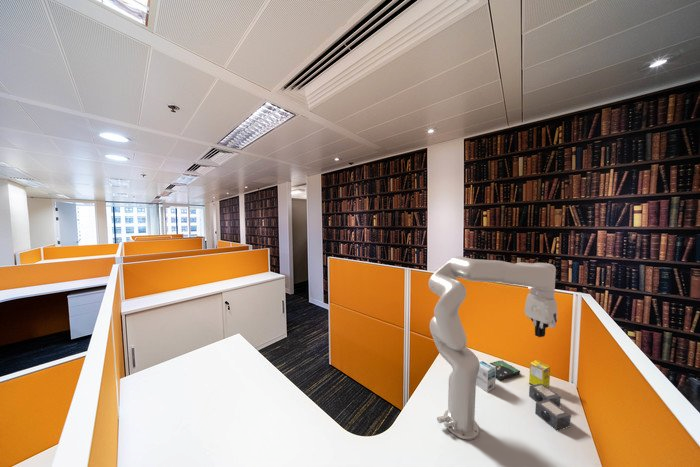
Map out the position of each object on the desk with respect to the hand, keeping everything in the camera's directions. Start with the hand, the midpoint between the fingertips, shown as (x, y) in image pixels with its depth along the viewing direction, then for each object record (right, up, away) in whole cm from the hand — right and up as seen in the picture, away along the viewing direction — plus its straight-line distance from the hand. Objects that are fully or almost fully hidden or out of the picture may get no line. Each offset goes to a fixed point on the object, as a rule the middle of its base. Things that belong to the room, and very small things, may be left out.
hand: (539, 335), depth 95 cm
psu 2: (+3, -33, -2) cm, 34 cm away
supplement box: (+14, -32, +17) cm, 39 cm away
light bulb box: (-14, -32, +18) cm, 40 cm away
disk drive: (+2, -32, +27) cm, 42 cm away
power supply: (+8, -33, +7) cm, 34 cm away
